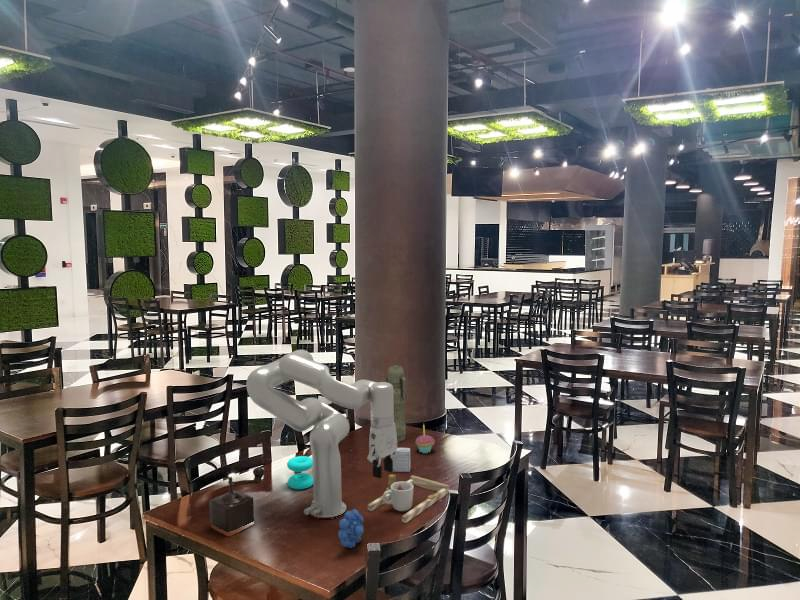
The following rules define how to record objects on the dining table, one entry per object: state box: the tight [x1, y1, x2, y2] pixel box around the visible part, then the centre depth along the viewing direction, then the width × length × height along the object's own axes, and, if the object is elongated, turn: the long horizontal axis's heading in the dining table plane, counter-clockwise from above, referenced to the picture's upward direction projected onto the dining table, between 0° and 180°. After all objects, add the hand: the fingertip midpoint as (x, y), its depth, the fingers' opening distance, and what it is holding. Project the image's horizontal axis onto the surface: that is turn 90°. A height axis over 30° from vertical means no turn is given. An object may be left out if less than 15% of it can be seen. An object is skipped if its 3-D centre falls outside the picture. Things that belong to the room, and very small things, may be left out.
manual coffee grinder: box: [208, 466, 266, 532], centre depth 186 cm, size 16×11×18 cm
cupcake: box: [415, 423, 436, 454], centre depth 250 cm, size 9×8×12 cm
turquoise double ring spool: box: [286, 455, 313, 490], centre depth 216 cm, size 10×10×10 cm
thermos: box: [385, 364, 407, 443], centre depth 265 cm, size 9×12×35 cm
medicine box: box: [391, 447, 411, 473], centre depth 229 cm, size 8×4×9 cm, turn 84°
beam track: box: [367, 473, 450, 524], centre depth 202 cm, size 28×20×6 cm
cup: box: [382, 481, 415, 512], centre depth 196 cm, size 11×8×8 cm
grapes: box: [337, 509, 365, 549], centre depth 170 cm, size 12×7×12 cm, turn 149°
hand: (382, 473), depth 188 cm, fingers open, 5 cm apart
